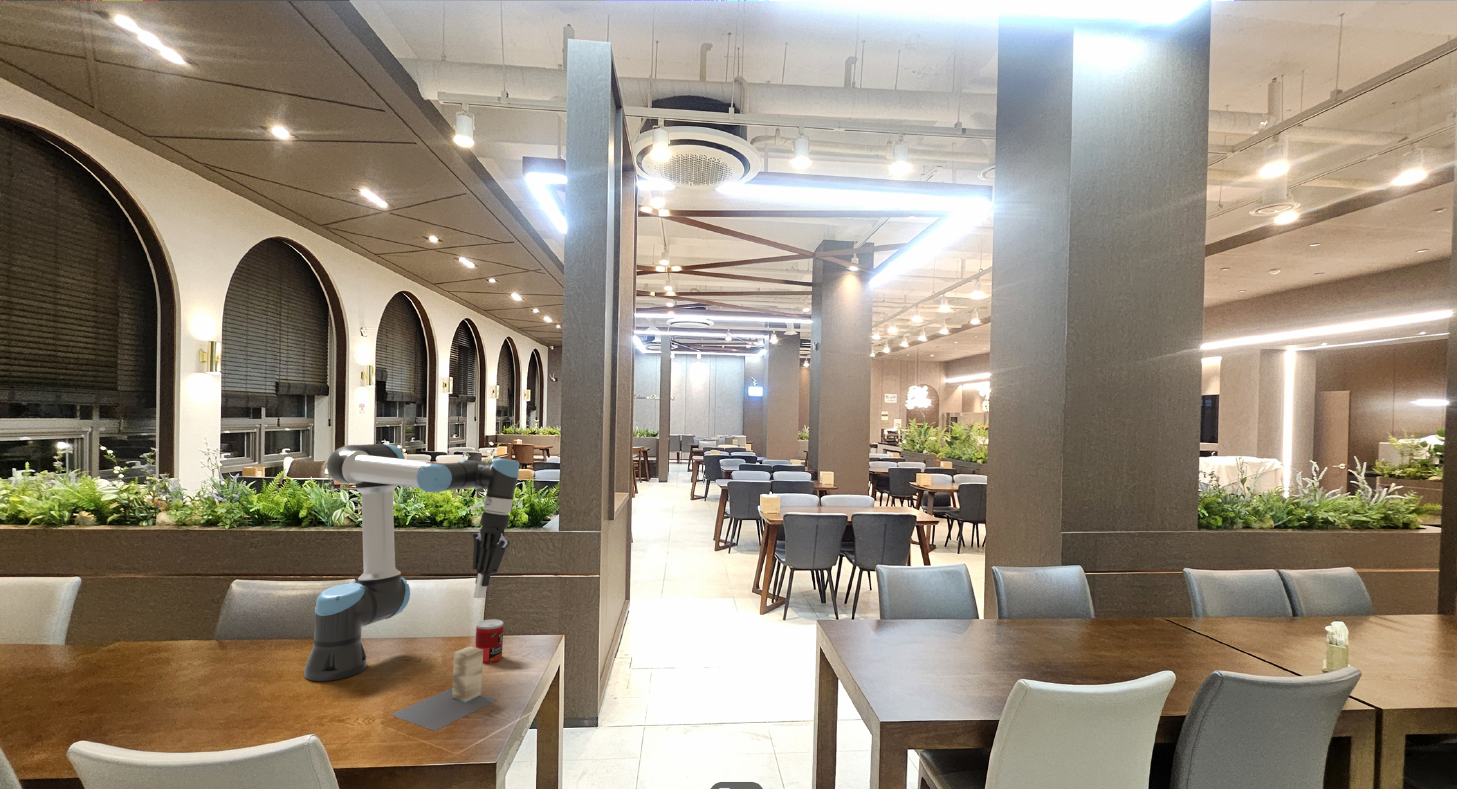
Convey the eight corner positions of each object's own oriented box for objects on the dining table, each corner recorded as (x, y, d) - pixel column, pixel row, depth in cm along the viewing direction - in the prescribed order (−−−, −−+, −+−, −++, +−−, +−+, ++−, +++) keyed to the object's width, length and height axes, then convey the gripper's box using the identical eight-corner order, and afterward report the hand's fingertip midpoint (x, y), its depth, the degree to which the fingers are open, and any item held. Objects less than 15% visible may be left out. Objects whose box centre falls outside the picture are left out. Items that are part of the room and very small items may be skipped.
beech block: (451, 698, 162) (454, 651, 163) (467, 691, 167) (469, 645, 167) (465, 702, 160) (467, 655, 160) (481, 695, 164) (483, 649, 165)
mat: (389, 716, 152) (390, 714, 152) (454, 687, 169) (454, 686, 169) (434, 732, 145) (434, 730, 145) (497, 701, 162) (497, 699, 162)
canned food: (493, 665, 185) (494, 628, 186) (469, 662, 187) (470, 625, 188) (507, 656, 193) (508, 620, 193) (483, 653, 195) (485, 618, 195)
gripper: (470, 508, 177) (452, 593, 174) (501, 515, 171) (483, 603, 167) (491, 509, 184) (475, 591, 180) (522, 516, 177) (505, 601, 174)
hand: (479, 597), depth 174 cm, fingers closed
